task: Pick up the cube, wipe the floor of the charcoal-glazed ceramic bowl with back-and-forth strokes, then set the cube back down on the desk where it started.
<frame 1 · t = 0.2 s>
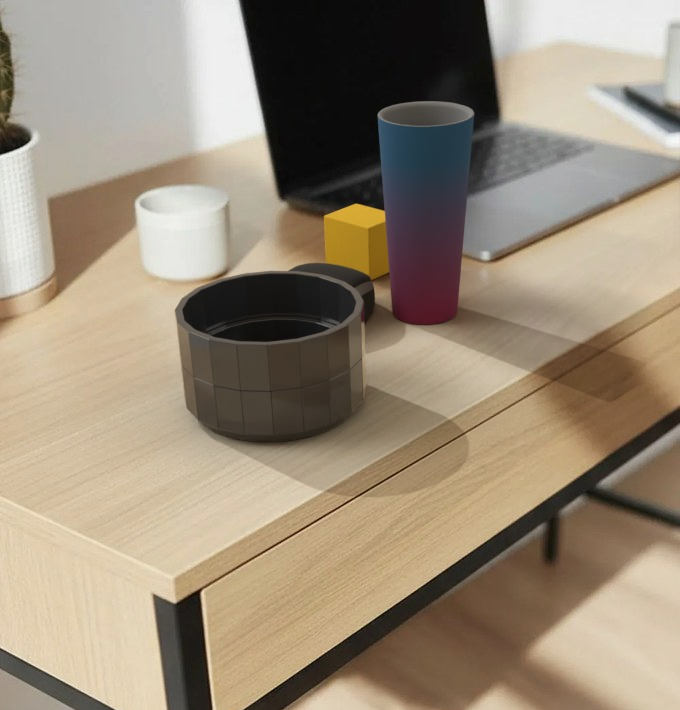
bowl: (276, 402, 81), on the table
cube: (363, 267, 101), on the table
cup: (424, 313, 93), on the table
computer mouse: (315, 326, 91), on the table
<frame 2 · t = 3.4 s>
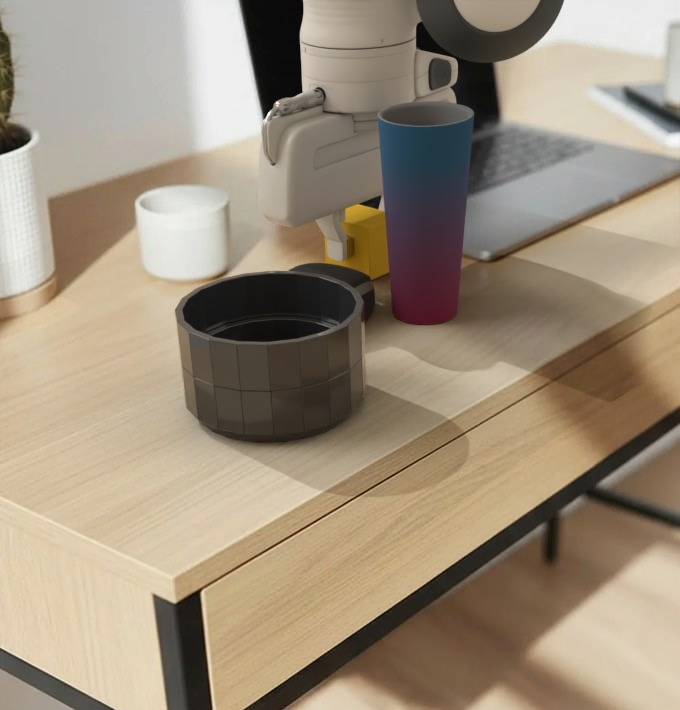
hand: (363, 249, 100), 2 cm above the table, tool pointing down, fingers closed on cube, 4 cm apart
cube: (363, 267, 101), on the table, touching gripper
everything else where it was.
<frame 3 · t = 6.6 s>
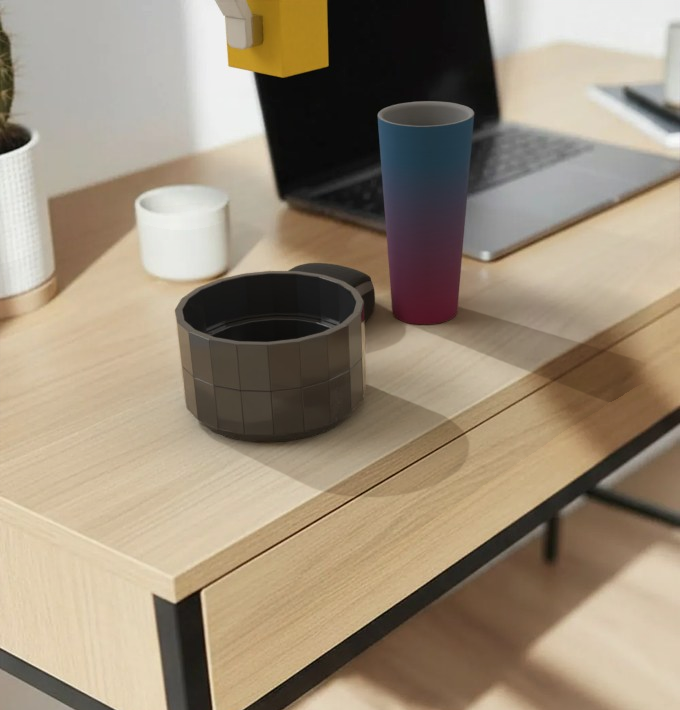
hand: (278, 39, 74), 22 cm above the table, tool pointing down, fingers closed on cube, 4 cm apart
cube: (278, 66, 75), point 20 cm above the table, touching gripper
everything else where it was.
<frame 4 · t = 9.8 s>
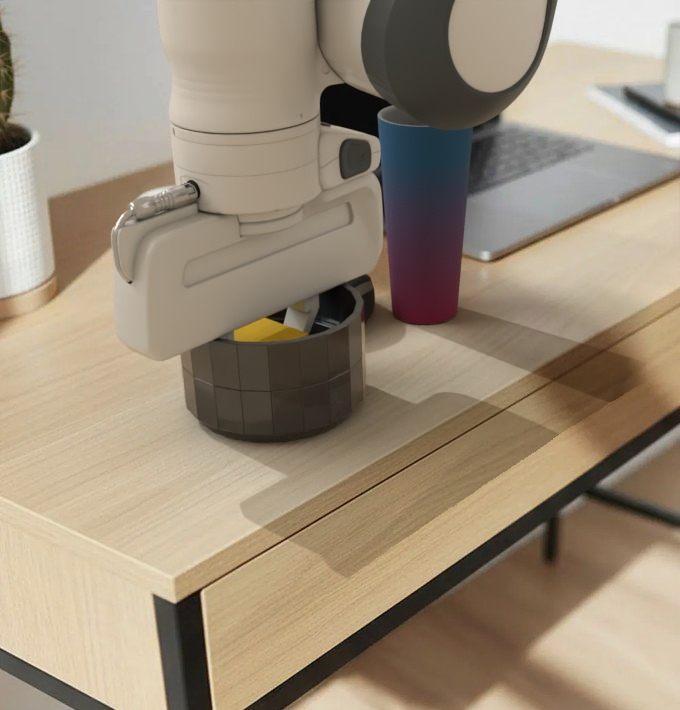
hand: (263, 373, 79), 2 cm above the table, tool pointing down, fingers closed on cube, 4 cm apart
cube: (264, 395, 80), point 1 cm above the table, touching bowl, gripper
everything else where it was.
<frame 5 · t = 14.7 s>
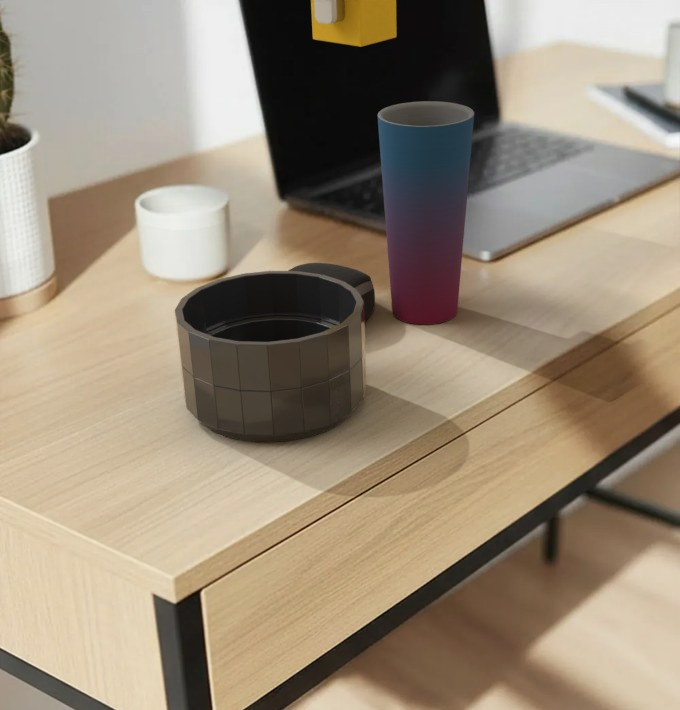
hand: (355, 16, 90), 20 cm above the table, tool pointing down, fingers closed on cube, 4 cm apart
cube: (354, 38, 91), point 18 cm above the table, touching gripper
everything else where it was.
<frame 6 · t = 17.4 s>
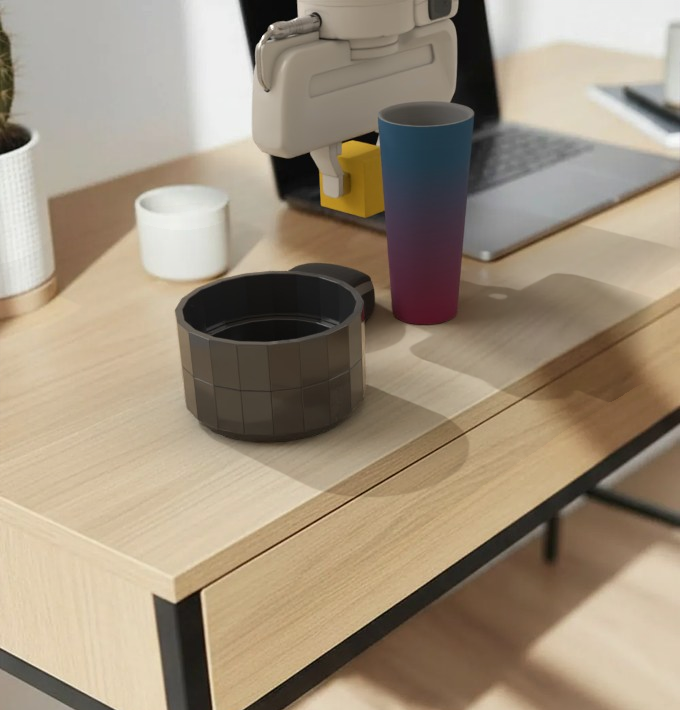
hand: (360, 186, 97), 7 cm above the table, tool pointing down, fingers closed on cube, 4 cm apart
cube: (359, 205, 98), point 5 cm above the table, touching gripper
everything else where it was.
when the fingers open (1 cm above the table, at t = 19.0 s): cube stays where it is, on the table.
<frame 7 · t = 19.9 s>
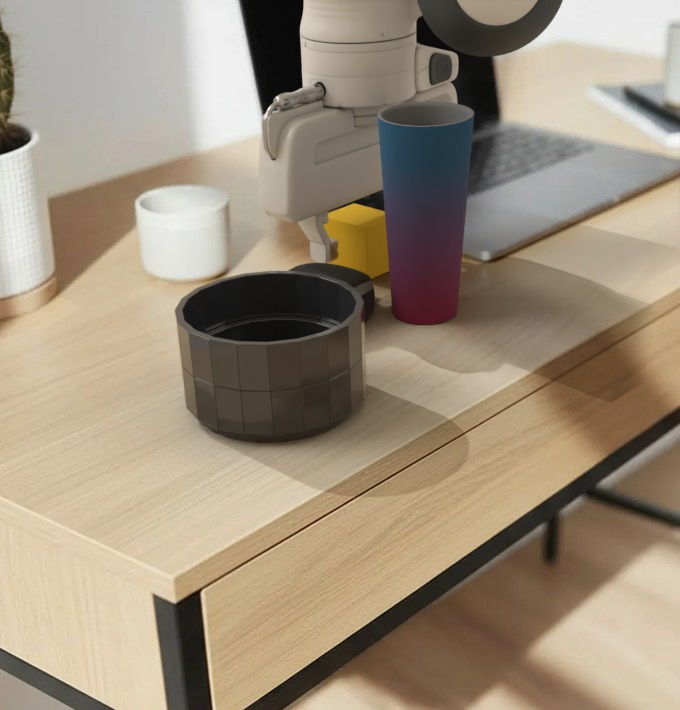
hand: (363, 244, 100), 2 cm above the table, tool pointing down, fingers open, 8 cm apart
cube: (361, 267, 101), on the table
everything else where it was.
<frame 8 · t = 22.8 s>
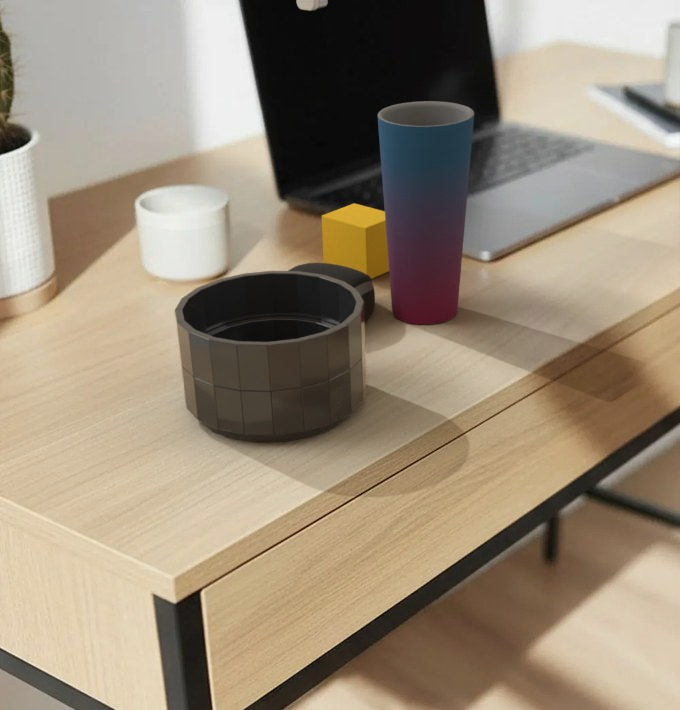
nothing on the table moved.
at the end: cube inside the target area on the table beside the bowl (0.3 cm from its centre), on the table; the gripper is holding nothing; cube tilted 0° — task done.
